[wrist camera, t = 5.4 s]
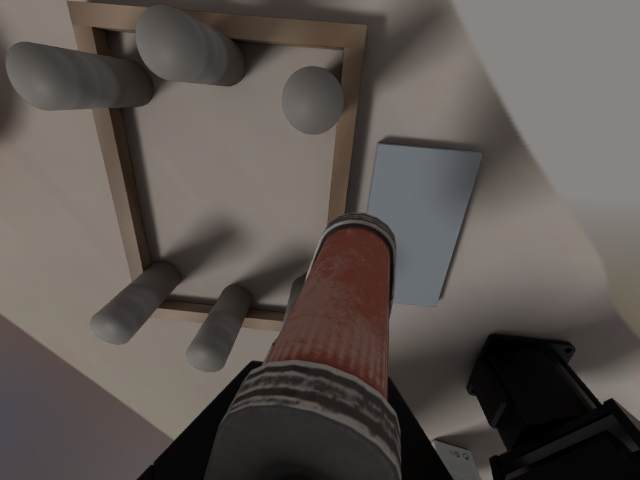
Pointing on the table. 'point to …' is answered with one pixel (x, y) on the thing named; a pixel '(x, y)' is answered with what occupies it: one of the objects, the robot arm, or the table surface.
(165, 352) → the table surface
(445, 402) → the table surface
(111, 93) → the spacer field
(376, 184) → the mat
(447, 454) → the skincare box
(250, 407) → the lighter
